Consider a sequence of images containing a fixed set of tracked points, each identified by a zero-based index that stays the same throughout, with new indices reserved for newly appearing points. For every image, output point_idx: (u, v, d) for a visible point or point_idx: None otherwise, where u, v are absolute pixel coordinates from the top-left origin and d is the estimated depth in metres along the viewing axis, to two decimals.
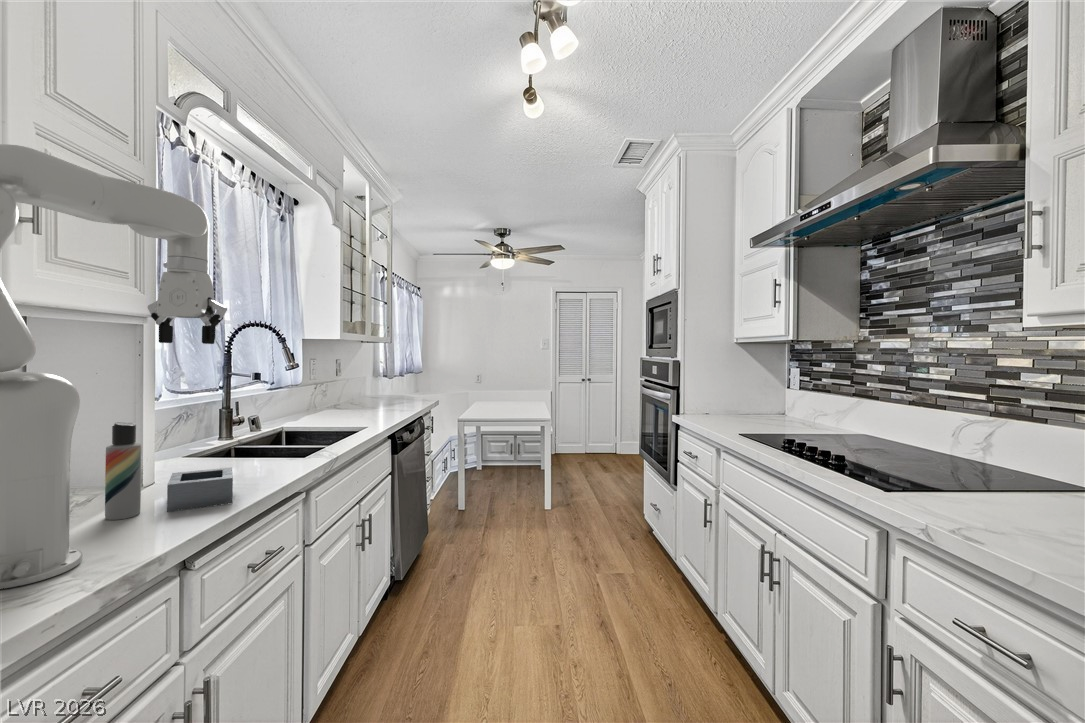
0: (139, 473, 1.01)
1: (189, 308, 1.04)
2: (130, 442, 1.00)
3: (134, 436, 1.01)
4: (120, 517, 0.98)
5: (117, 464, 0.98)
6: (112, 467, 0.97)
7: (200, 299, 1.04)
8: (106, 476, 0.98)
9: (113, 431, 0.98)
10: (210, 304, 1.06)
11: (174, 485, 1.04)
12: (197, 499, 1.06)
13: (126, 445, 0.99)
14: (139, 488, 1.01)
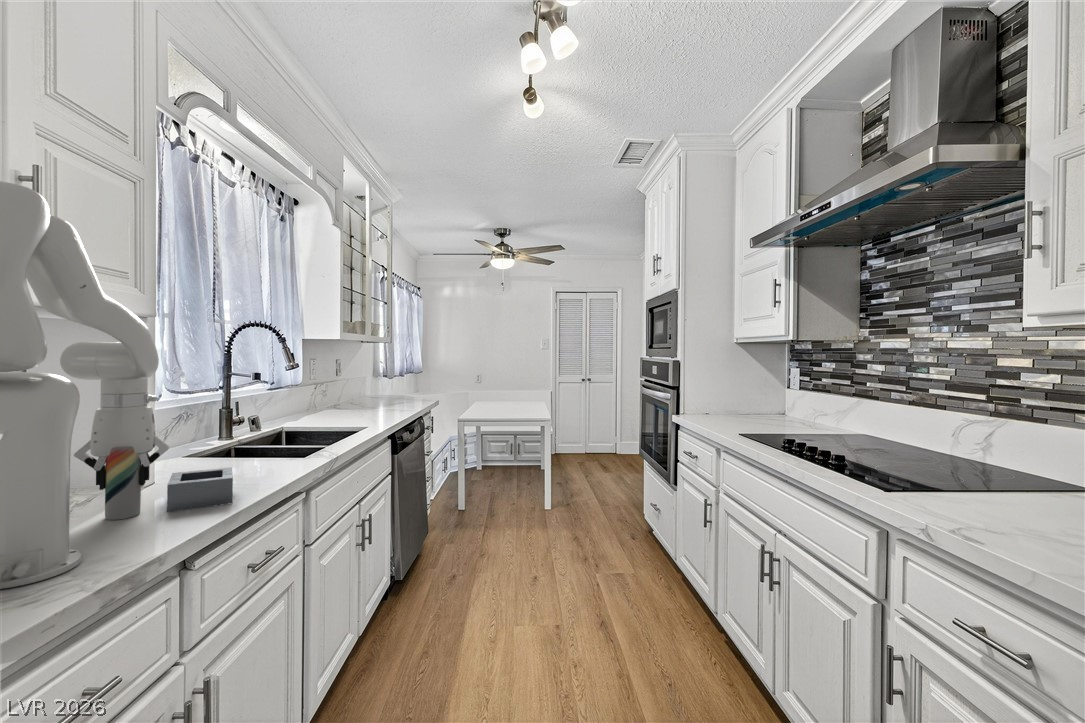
0: (139, 473, 1.01)
1: None
2: None
3: None
4: (120, 517, 0.98)
5: (117, 464, 0.98)
6: (112, 467, 0.97)
7: None
8: (106, 476, 0.98)
9: None
10: None
11: (174, 485, 1.04)
12: (197, 499, 1.06)
13: None
14: (139, 488, 1.01)
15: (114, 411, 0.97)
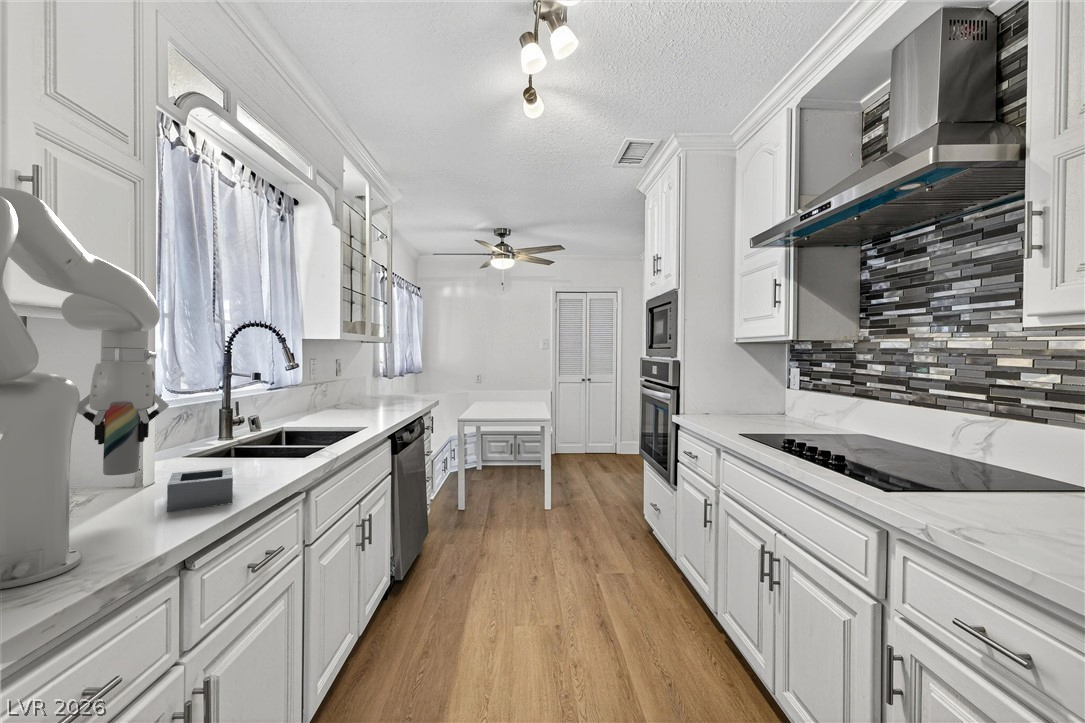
0: (138, 430, 1.00)
1: None
2: None
3: None
4: (118, 473, 0.97)
5: (116, 419, 0.97)
6: (111, 421, 0.97)
7: None
8: (105, 431, 0.97)
9: None
10: None
11: (174, 485, 1.04)
12: (197, 499, 1.06)
13: None
14: (138, 445, 1.00)
15: (114, 365, 0.97)
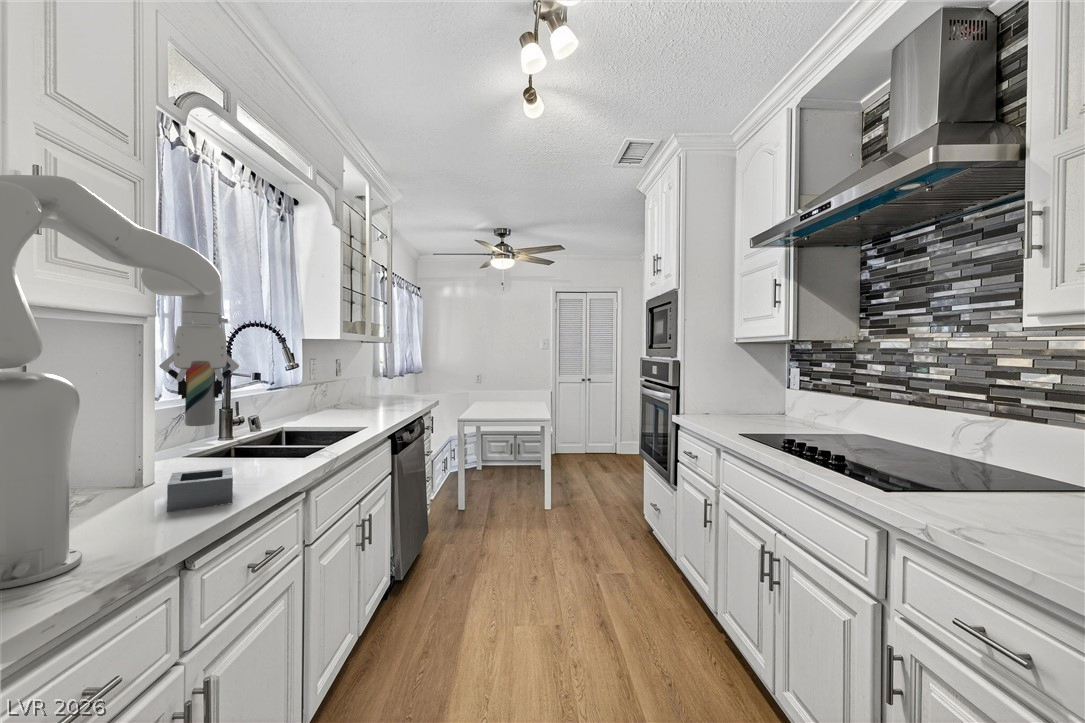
0: (214, 386, 1.12)
1: None
2: None
3: None
4: (199, 424, 1.09)
5: (197, 376, 1.08)
6: (192, 378, 1.08)
7: None
8: (187, 387, 1.09)
9: None
10: None
11: (174, 485, 1.04)
12: (197, 499, 1.06)
13: None
14: (214, 400, 1.12)
15: (194, 328, 1.08)
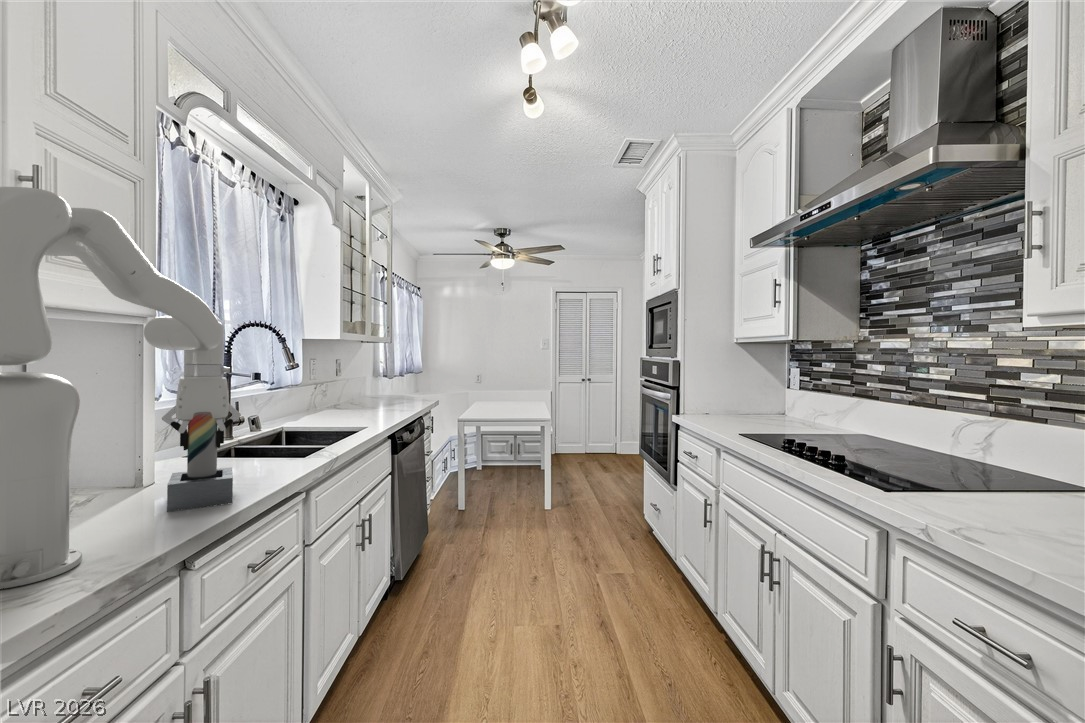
0: (216, 436, 1.12)
1: None
2: None
3: None
4: (201, 475, 1.09)
5: (199, 427, 1.09)
6: (194, 430, 1.09)
7: None
8: (189, 438, 1.09)
9: None
10: None
11: (174, 485, 1.04)
12: (197, 499, 1.06)
13: None
14: (216, 450, 1.12)
15: (196, 380, 1.09)
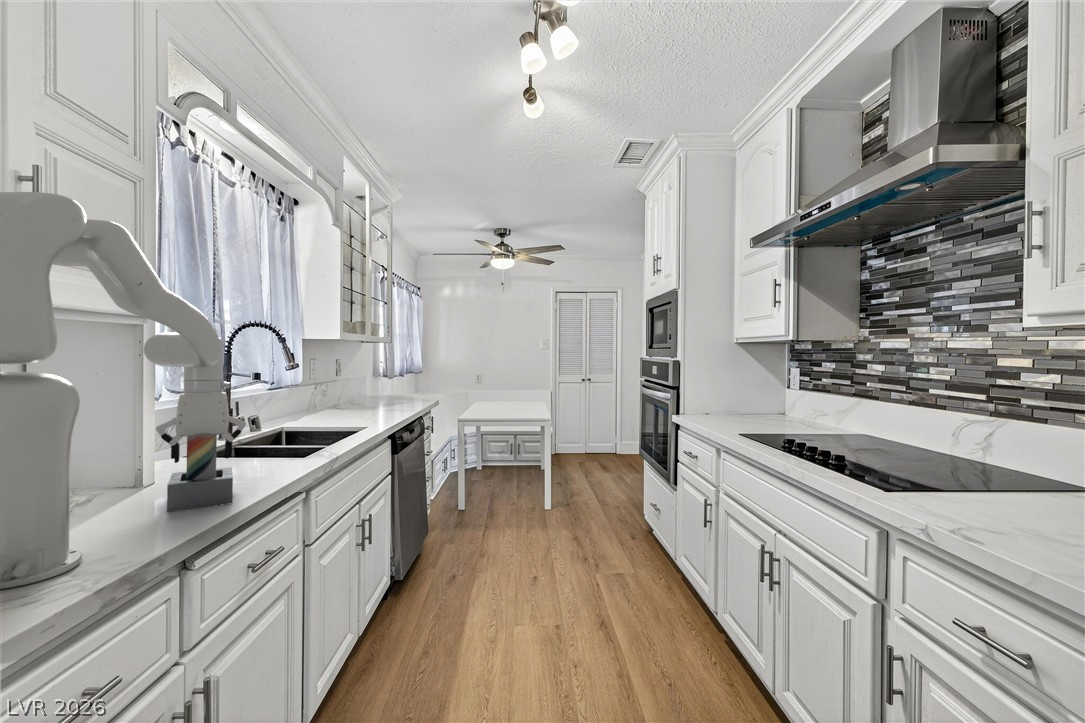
0: (215, 458, 1.12)
1: None
2: None
3: None
4: None
5: (198, 449, 1.09)
6: (193, 452, 1.09)
7: None
8: (188, 460, 1.09)
9: None
10: None
11: (174, 485, 1.04)
12: (197, 499, 1.06)
13: None
14: (215, 471, 1.12)
15: (196, 396, 1.09)
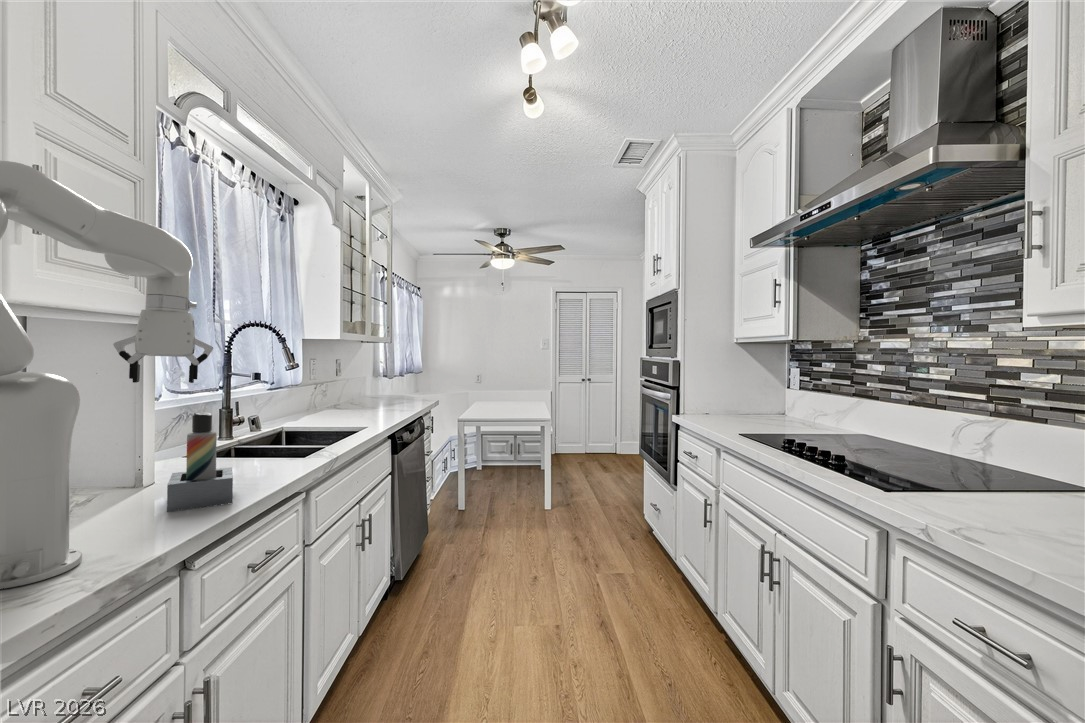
0: (215, 458, 1.12)
1: None
2: (208, 430, 1.11)
3: (211, 425, 1.12)
4: None
5: (198, 450, 1.09)
6: (193, 452, 1.09)
7: None
8: (188, 460, 1.09)
9: (193, 420, 1.10)
10: None
11: (174, 485, 1.04)
12: (197, 499, 1.06)
13: (205, 433, 1.10)
14: (215, 472, 1.12)
15: (158, 312, 1.02)
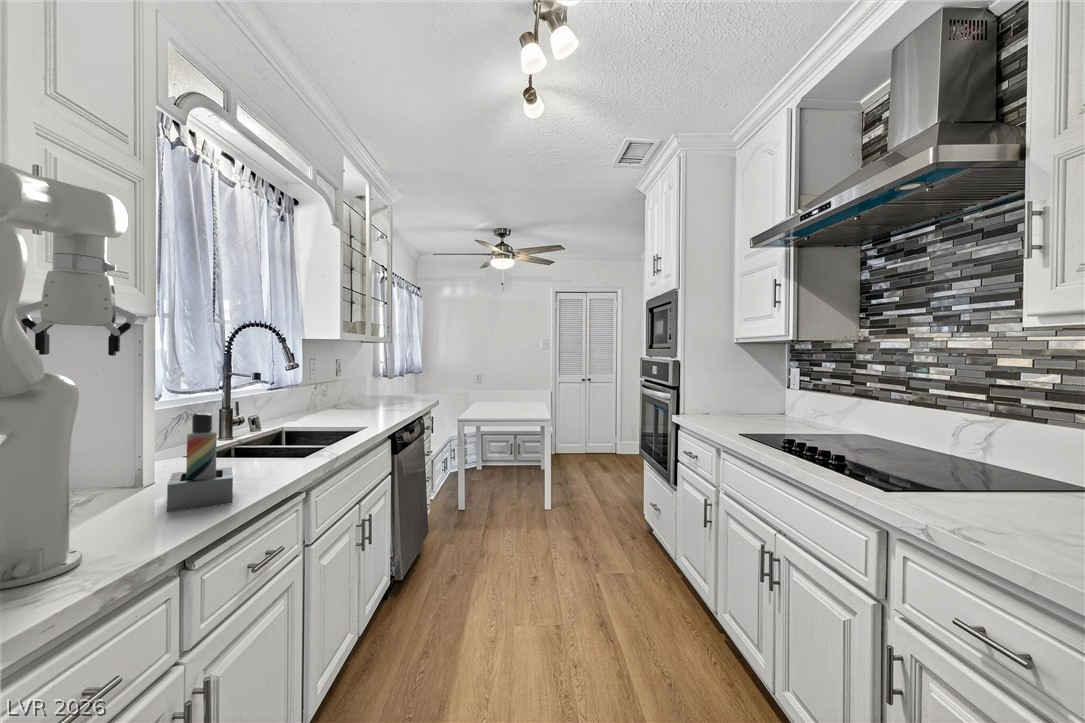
0: (215, 458, 1.12)
1: None
2: (208, 430, 1.11)
3: (211, 425, 1.12)
4: None
5: (198, 450, 1.09)
6: (193, 452, 1.09)
7: None
8: (188, 460, 1.09)
9: (193, 420, 1.10)
10: None
11: (174, 485, 1.04)
12: (197, 499, 1.06)
13: (205, 433, 1.10)
14: (215, 472, 1.12)
15: (67, 274, 0.89)
